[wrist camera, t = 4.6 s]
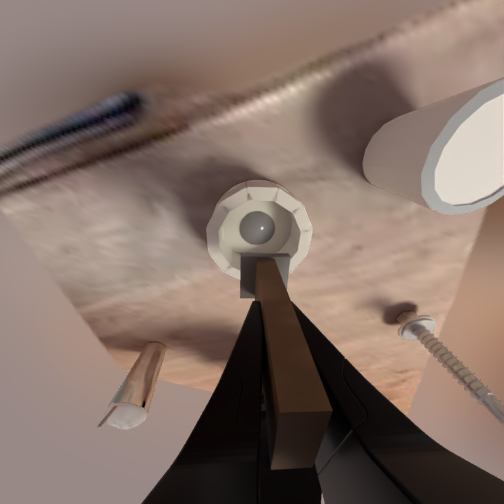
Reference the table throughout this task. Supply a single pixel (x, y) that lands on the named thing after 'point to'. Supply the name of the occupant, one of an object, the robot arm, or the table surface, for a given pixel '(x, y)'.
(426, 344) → the screw
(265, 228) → the white bowl
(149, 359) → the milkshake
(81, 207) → the table surface
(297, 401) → the brown wooden handle
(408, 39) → the table surface
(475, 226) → the table surface
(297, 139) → the table surface
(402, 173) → the white tapered cylinder
